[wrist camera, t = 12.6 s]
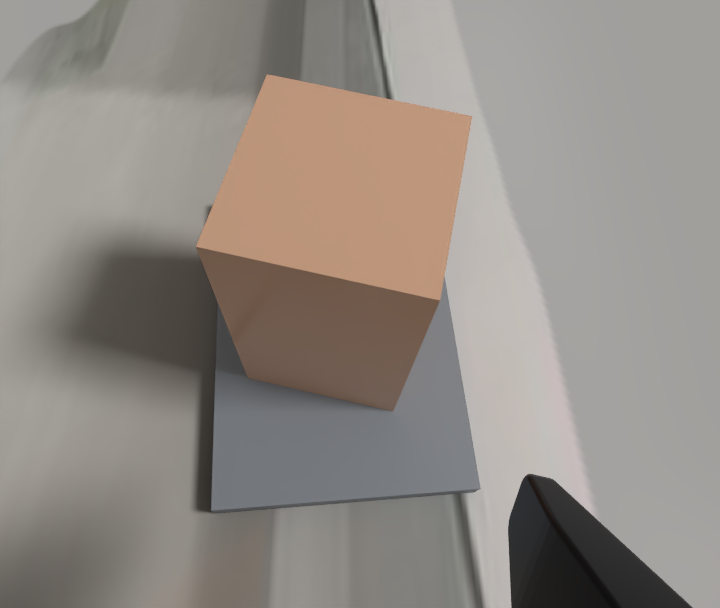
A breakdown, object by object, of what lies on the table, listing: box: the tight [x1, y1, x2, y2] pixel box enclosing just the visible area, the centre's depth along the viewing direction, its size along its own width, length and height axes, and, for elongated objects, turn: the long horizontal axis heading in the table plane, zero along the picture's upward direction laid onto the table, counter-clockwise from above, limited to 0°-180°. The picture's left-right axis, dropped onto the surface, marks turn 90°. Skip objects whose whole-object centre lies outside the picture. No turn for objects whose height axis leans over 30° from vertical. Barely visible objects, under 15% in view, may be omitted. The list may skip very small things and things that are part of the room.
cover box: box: [196, 74, 472, 411], centre depth 19 cm, size 6×6×10 cm
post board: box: [211, 277, 480, 513], centre depth 23 cm, size 14×10×4 cm
